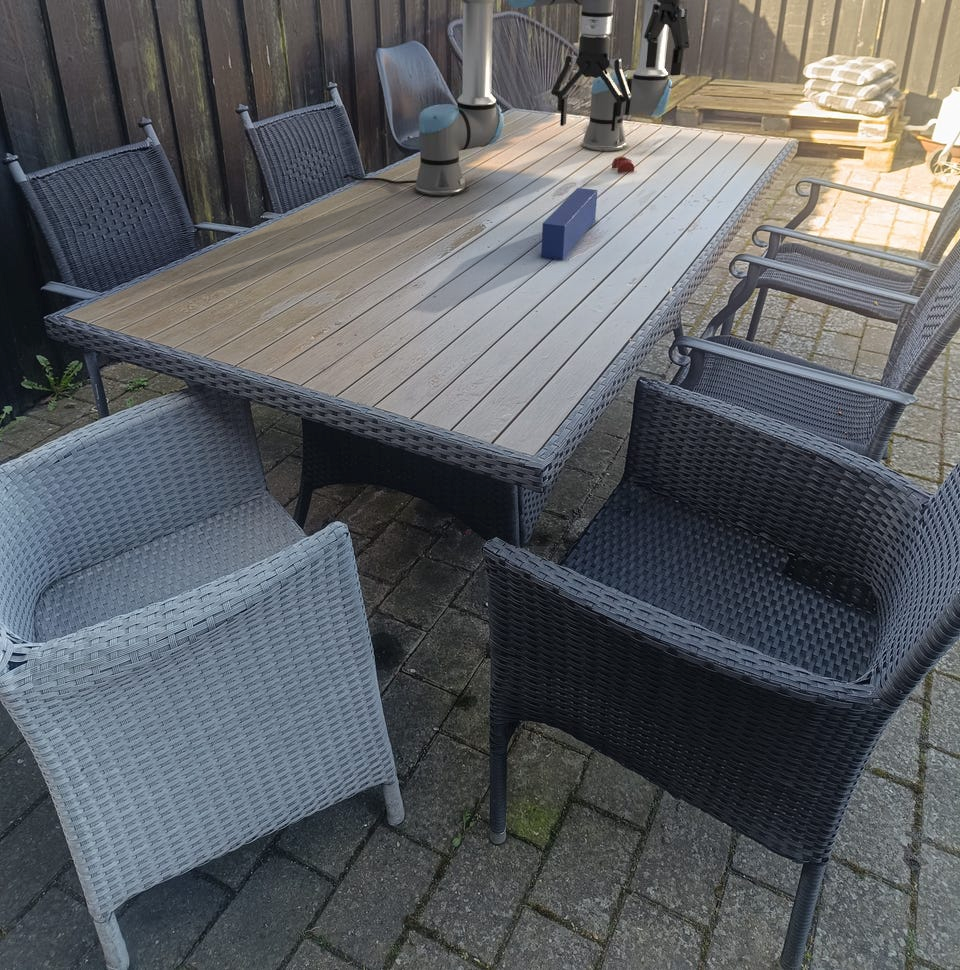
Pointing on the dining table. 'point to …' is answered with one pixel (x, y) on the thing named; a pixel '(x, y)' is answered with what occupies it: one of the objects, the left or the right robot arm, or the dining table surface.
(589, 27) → the left robot arm
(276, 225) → the dining table surface
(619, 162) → the red lumpy piece
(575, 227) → the bar
